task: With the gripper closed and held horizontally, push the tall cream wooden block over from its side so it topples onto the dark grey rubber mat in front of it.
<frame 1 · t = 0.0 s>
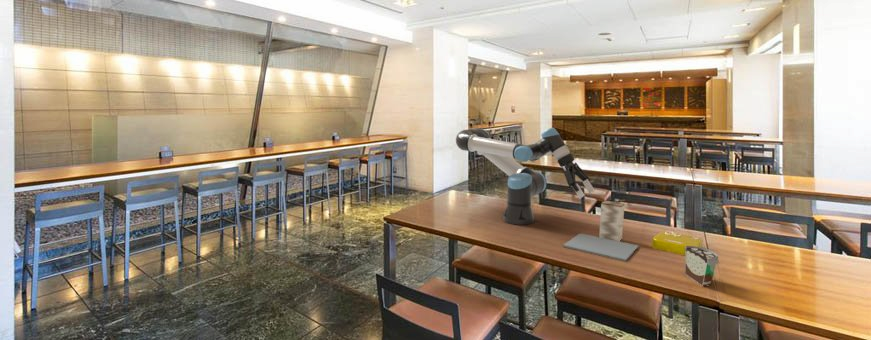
hand: (587, 194, 186), 15 cm above the table, tool tilted 35°, fingers open, 13 cm apart
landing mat: (600, 247, 160), on the table
tall block: (610, 238, 170), on the table
food container: (702, 280, 130), on the table
element tile: (676, 249, 159), on the table
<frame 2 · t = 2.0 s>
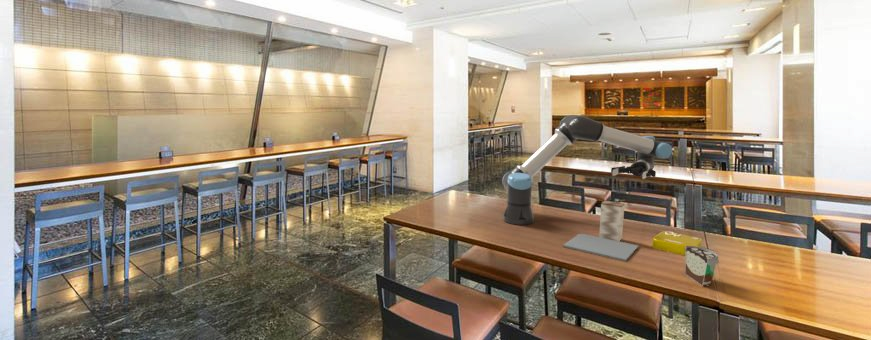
hand: (628, 174, 182), 25 cm above the table, tool horizontal, fingers open, 12 cm apart
nothing on the table moved.
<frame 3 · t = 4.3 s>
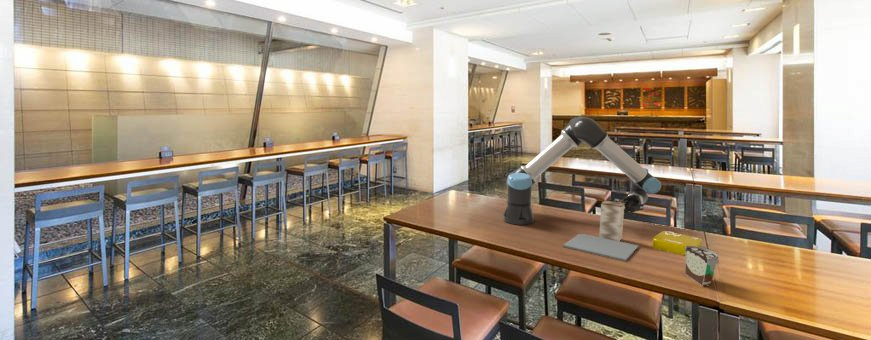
hand: (619, 212, 175), 10 cm above the table, tool horizontal, fingers closed
nothing on the table moved.
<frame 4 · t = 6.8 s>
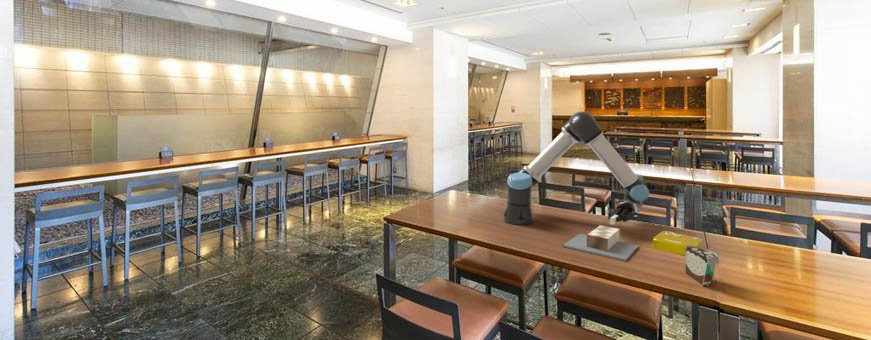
hand: (611, 221, 167), 8 cm above the table, tool horizontal, fingers closed
tall block: (609, 232, 168), point 3 cm above the table, tilted 90°, touching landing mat
everything else where it was.
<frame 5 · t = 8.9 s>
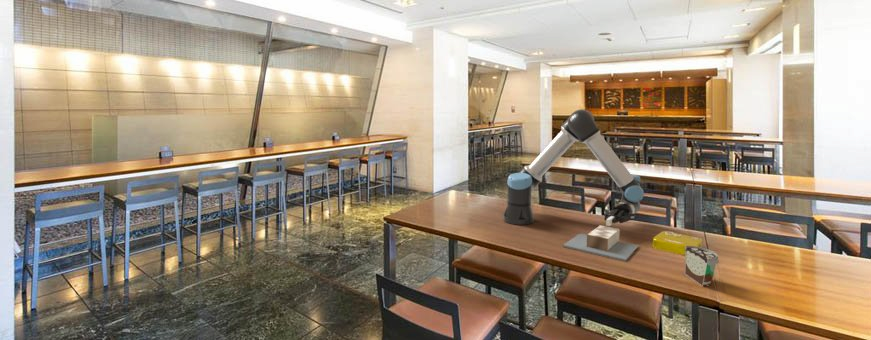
hand: (607, 222, 164), 9 cm above the table, tool horizontal, fingers closed
nothing on the table moved.
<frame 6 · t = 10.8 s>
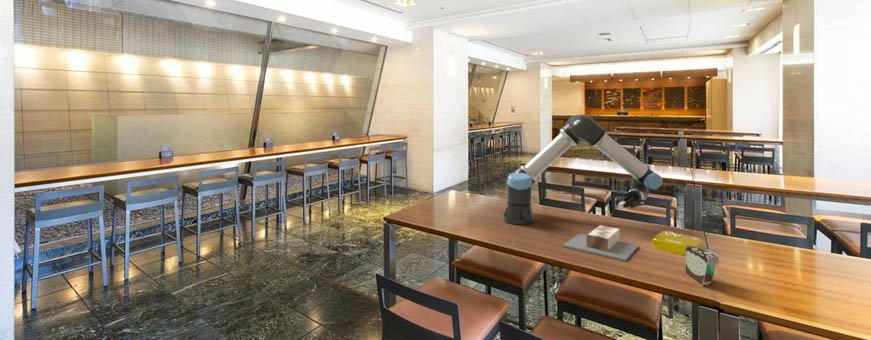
hand: (619, 206, 174), 13 cm above the table, tool horizontal, fingers closed
nothing on the table moved.
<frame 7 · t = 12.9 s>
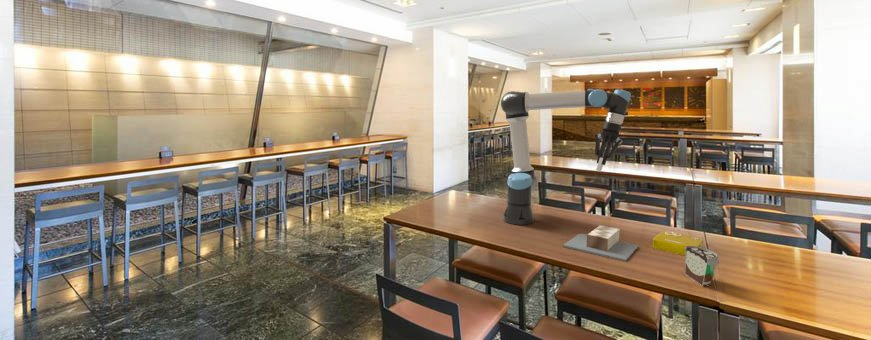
hand: (598, 170, 188), 26 cm above the table, tool pointing down, fingers closed
nothing on the table moved.
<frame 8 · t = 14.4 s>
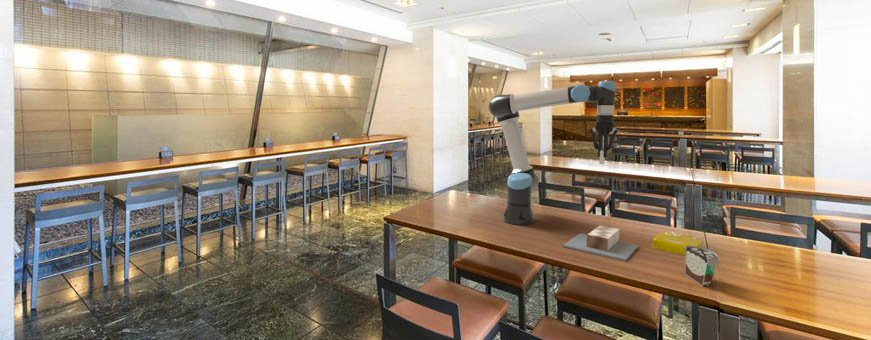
hand: (601, 163, 188), 29 cm above the table, tool pointing down, fingers closed
nothing on the table moved.
at the end: tall block tilted 90°; tall block touching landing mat; tall block inside the target area (1.3 cm from its centre), point 3.3 cm above the table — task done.
